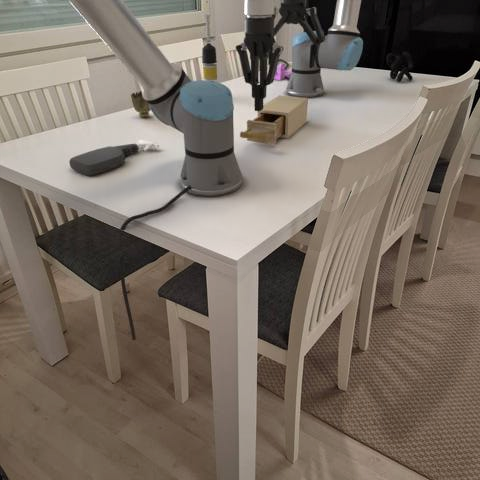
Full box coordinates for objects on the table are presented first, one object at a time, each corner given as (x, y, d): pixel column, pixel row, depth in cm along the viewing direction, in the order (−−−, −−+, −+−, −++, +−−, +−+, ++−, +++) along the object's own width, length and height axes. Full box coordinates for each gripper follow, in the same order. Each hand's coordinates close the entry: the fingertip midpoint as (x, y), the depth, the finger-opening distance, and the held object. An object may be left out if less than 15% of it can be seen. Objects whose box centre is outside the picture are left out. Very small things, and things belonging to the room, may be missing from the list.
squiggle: (400, 92, 202) (376, 71, 205) (417, 76, 202) (392, 56, 205) (405, 81, 191) (380, 59, 194) (423, 64, 191) (397, 42, 194)
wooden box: (287, 138, 137) (288, 112, 133) (257, 134, 141) (257, 109, 137) (306, 121, 151) (308, 98, 147) (278, 118, 155) (279, 95, 151)
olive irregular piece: (129, 117, 158) (125, 94, 154) (142, 112, 164) (139, 90, 159) (146, 120, 155) (143, 97, 151) (158, 114, 161) (156, 92, 156)
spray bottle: (67, 168, 120) (139, 144, 136) (91, 178, 114) (163, 151, 130) (65, 157, 118) (137, 134, 134) (89, 167, 112) (162, 142, 128)
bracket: (280, 80, 204) (280, 64, 200) (270, 78, 207) (270, 62, 203) (295, 74, 213) (295, 59, 209) (285, 73, 216) (285, 58, 212)
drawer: (266, 151, 126) (267, 130, 123) (238, 147, 129) (238, 126, 126) (294, 127, 143) (295, 108, 140) (269, 124, 147) (269, 106, 143)
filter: (220, 99, 177) (217, 15, 161) (206, 100, 176) (202, 16, 160) (215, 96, 182) (212, 14, 166) (202, 97, 180) (197, 14, 164)
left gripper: (288, 15, 113) (285, 108, 126) (242, 14, 118) (243, 104, 130) (278, 18, 107) (275, 116, 120) (229, 17, 112) (232, 110, 125)
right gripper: (339, -13, 127) (333, 65, 138) (259, -13, 136) (259, 60, 148) (332, -11, 121) (326, 70, 133) (249, -11, 131) (250, 65, 142)
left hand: (258, 109), depth 125 cm, fingers closed
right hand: (291, 65), depth 140 cm, fingers open, 13 cm apart
